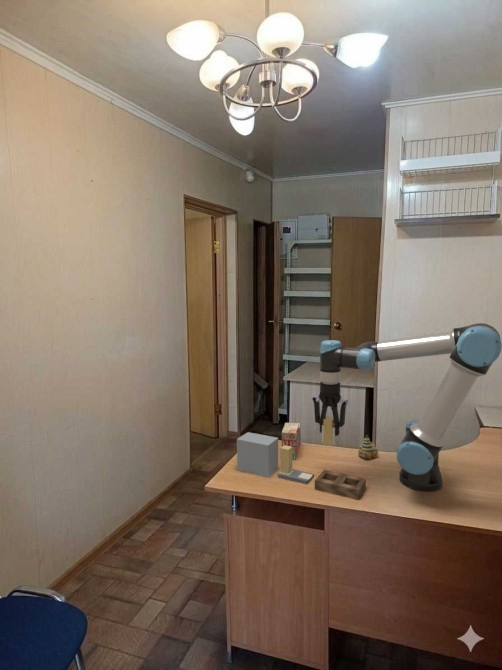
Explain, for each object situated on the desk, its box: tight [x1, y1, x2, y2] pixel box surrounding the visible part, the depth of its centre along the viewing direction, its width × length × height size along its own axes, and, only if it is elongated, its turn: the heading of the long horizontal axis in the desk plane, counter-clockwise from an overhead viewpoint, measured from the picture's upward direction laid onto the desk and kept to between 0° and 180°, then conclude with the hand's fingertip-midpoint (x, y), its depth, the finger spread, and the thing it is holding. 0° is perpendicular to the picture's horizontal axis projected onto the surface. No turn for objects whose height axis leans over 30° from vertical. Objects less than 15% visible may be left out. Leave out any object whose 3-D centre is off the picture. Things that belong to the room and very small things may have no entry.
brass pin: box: [322, 415, 335, 447], centre depth 164 cm, size 4×4×10 cm
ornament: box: [357, 434, 379, 461], centre depth 185 cm, size 8×6×10 cm
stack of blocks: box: [281, 422, 302, 461], centre depth 193 cm, size 21×6×12 cm, turn 168°
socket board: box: [314, 469, 367, 501], centre depth 158 cm, size 16×10×4 cm, turn 61°
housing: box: [236, 431, 279, 478], centre depth 174 cm, size 14×9×13 cm, turn 61°
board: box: [277, 445, 314, 485], centre depth 167 cm, size 12×7×11 cm, turn 61°
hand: (329, 442), depth 165 cm, fingers closed on brass pin, 3 cm apart
